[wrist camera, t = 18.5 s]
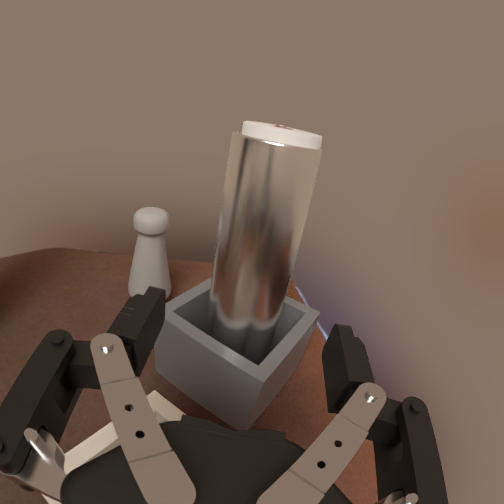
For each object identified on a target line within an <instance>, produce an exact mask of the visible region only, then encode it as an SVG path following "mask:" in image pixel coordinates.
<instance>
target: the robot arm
mask: <svg viewBox="0 0 504 504" xmlns="http://www.w3.org/2000/svg"><path fill="white" fill-rule="evenodd" d="M165 300H166V291H165V289H161V288H157V287H153V286H149V287H148V289H147V290H146V292H145V293H144V295H141V294H136V295H134V296H133V297H131V298H130V299H129V300H128V301H127V303H126V304H125V305H124V307H123V308H122V310H121V311H120V313H119V314H118V316H117V317H116V319H115V320H114V322H113V323H112V325H111V326H110V328H109V330H108V331H107V333H104V334H100V335H98V336H96V337H95V338H93V340H92V341H77V340H73V338H72V336H71V334H70V333H69V332H67V331H65V330H53V331H51V332H49V333H48V334H46V336H45V337H44V338H43V340H42V341H41V343H40V344H39V345H38V347H37V348H36V350H35V351H34V353H33V354H32V356H31V357H30V359H29V360H28V362H27V363H26V365H25V366H24V368H23V370H22V371H21V373H20V374H19V376H18V377H17V379H16V381H15V382H14V384H13V386H12V387H11V389H10V391H9V392H8V394H7V396H6V397H5V399H4V401H3V403H2V404H1V406H0V472H1V473H2V474H4V475H5V476H6V477H7V478H9V479H10V480H11V481H13V482H14V483H16V484H18V485H19V486H20V487H22V488H23V489H25V490H27V491H37V492H39V493H41V494H43V495H45V496H47V497H49V498H51V499H53V500H55V501H58V502H60V503H61V504H352V503H351V501H350V500H349V499H348V498H347V497H346V496H345V495H344V494H343V493H342V492H341V491H340V489H339V488H338V487H337V486H336V485H335V484H334V482H335V480H336V479H337V478H338V476H339V475H340V474H341V472H342V471H343V470H344V468H345V467H346V466H347V464H348V463H349V461H350V460H351V459H352V457H353V456H354V454H355V453H356V452H357V450H358V449H359V447H360V446H361V444H362V443H363V441H364V440H365V439H368V440H371V441H373V444H374V453H375V464H376V475H377V489H378V502H376V503H375V504H448V499H447V493H446V487H445V482H444V476H443V471H442V466H441V462H440V457H439V452H438V448H437V444H436V439H435V435H434V431H433V427H432V424H431V420H430V416H429V413H428V409H427V407H426V405H425V403H424V402H423V401H422V400H420V399H419V398H416V397H407V398H406V399H404V401H403V402H398V401H395V400H392V399H389V398H387V397H386V394H385V392H384V390H383V389H382V388H381V387H380V386H378V385H376V384H375V382H374V378H373V374H372V371H371V367H370V363H369V362H368V356H367V352H366V349H365V345H364V344H363V343H362V341H361V340H360V339H359V338H358V337H354V335H353V331H352V328H351V326H348V325H342V324H335V325H334V326H333V328H332V330H331V333H330V335H329V337H328V339H327V341H326V343H325V345H324V348H323V352H322V362H323V370H324V379H325V387H326V396H327V406H328V413H336V414H337V415H336V416H335V418H334V419H333V420H332V421H331V422H330V424H329V425H328V426H327V427H326V428H325V430H324V431H323V432H322V433H321V434H320V436H319V437H318V438H317V439H316V440H315V441H314V442H313V443H312V445H311V446H310V447H309V448H308V449H307V450H306V451H305V450H304V449H303V448H301V447H300V446H299V445H297V444H295V443H294V442H291V441H289V440H286V439H285V432H280V431H271V430H264V429H254V430H237V431H235V430H230V429H228V428H225V427H223V426H221V425H218V424H216V423H214V422H211V421H209V420H206V419H201V418H197V417H193V416H188V415H184V414H182V417H181V421H167V422H163V423H158V421H157V419H156V417H155V415H154V412H153V410H152V408H151V406H150V404H149V401H148V399H147V397H146V395H145V392H144V390H143V388H142V385H141V383H140V380H139V378H138V377H140V375H141V372H142V370H143V368H144V366H145V363H146V361H147V359H148V357H149V355H150V353H151V350H152V348H153V346H154V344H155V342H156V340H157V337H158V335H159V333H160V331H161V329H162V327H163V324H164V320H165ZM137 376H138V377H137ZM83 388H90V389H102V393H103V396H104V399H105V402H106V405H107V408H108V411H109V414H110V417H111V420H112V423H113V426H114V429H115V431H116V434H117V437H118V439H119V442H120V445H119V446H117V447H115V448H113V449H111V450H110V451H108V452H106V453H104V454H102V455H100V456H98V457H96V458H95V459H93V460H91V461H89V462H87V463H85V464H83V465H81V466H79V467H77V468H75V469H73V470H72V471H70V472H69V473H68V474H67V475H66V474H65V471H64V462H65V455H64V452H63V450H62V449H61V447H60V446H59V445H58V444H59V441H60V439H61V436H62V434H63V432H64V429H65V427H66V425H67V422H68V420H69V418H70V416H71V413H72V411H73V409H74V407H75V405H76V402H77V400H78V398H79V396H80V394H81V392H82V390H83Z"/></svg>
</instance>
